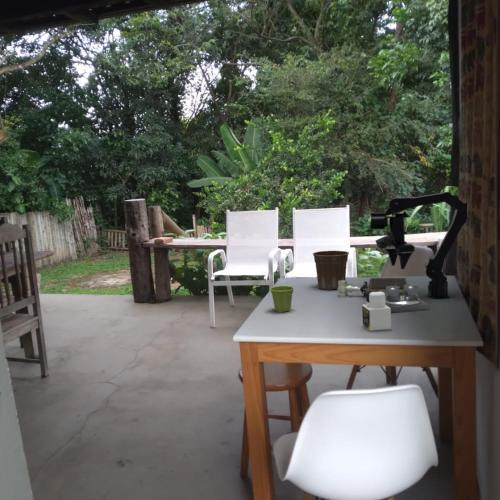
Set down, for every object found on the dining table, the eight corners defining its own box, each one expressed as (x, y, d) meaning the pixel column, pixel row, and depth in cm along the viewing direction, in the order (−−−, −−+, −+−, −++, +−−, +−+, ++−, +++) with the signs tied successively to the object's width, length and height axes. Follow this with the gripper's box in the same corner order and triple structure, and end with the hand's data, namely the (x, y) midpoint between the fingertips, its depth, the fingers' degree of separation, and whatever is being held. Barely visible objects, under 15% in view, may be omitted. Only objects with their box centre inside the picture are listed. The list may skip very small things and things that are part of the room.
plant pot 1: (297, 307, 189) (296, 285, 188) (291, 313, 181) (290, 291, 180) (274, 307, 193) (273, 285, 191) (267, 313, 184) (266, 290, 183)
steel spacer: (397, 298, 184) (396, 285, 183) (402, 301, 179) (402, 288, 178) (384, 299, 183) (383, 286, 183) (389, 302, 178) (388, 289, 178)
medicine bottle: (362, 325, 161) (361, 289, 159) (383, 323, 162) (382, 288, 160) (369, 331, 154) (368, 294, 152) (391, 329, 154) (390, 292, 153)
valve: (336, 297, 202) (365, 298, 197) (336, 282, 201) (365, 282, 197) (339, 294, 208) (368, 295, 203) (339, 279, 207) (367, 279, 203)
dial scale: (411, 300, 189) (411, 294, 189) (429, 309, 175) (429, 302, 175) (369, 304, 187) (369, 298, 187) (383, 313, 173) (383, 306, 173)
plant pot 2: (355, 285, 225) (354, 250, 223) (342, 292, 211) (340, 255, 209) (322, 283, 233) (321, 250, 231) (308, 290, 220) (306, 255, 218)
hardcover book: (405, 282, 226) (405, 277, 225) (407, 293, 204) (407, 288, 203) (370, 282, 230) (370, 278, 230) (368, 293, 208) (368, 288, 208)
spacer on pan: (414, 297, 184) (414, 284, 184) (420, 299, 179) (420, 286, 179) (401, 298, 184) (401, 285, 183) (407, 301, 179) (407, 287, 178)
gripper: (369, 228, 203) (370, 265, 205) (386, 232, 184) (387, 272, 186) (394, 226, 204) (395, 263, 206) (414, 230, 185) (415, 270, 187)
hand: (397, 267), depth 196 cm, fingers open, 9 cm apart
